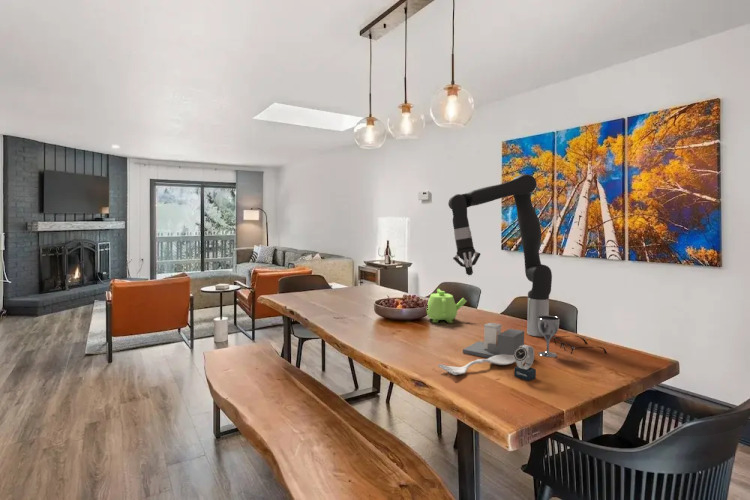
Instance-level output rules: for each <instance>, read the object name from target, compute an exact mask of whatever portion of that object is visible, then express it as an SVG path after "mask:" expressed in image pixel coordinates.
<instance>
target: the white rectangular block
mask: <svg viewBox="0 0 750 500" xmlns="http://www.w3.org/2000/svg"><path fill="white" fill-rule="evenodd" d="M502 326H503V325H502V324H501V323H495V322H487V323H485V324H484V325H483V327H484V329H483V333H484V335H483V340H484V341H483V342H484V349H488V344H489V343H490V344H495V345H498V334H500V333H502Z"/></svg>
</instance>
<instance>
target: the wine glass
mask: <svg viewBox="0 0 750 500" xmlns="http://www.w3.org/2000/svg"><path fill="white" fill-rule="evenodd" d="M538 327H539V331H540V332H541V334H542V335H543V337H544V339H545V343H546V350H545V351H539V352H538V353H537V354H538V355H539V356H541V357H543V358H557V357H558V354H557V353H556V352H552V351H550V341H551V340H552V338H553V337H555V335H556V334H557V333H558V331H559V327H560V317H559V316H554V315H549V316H548V315H542V316H538Z"/></svg>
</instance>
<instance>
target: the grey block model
mask: <svg viewBox="0 0 750 500" xmlns="http://www.w3.org/2000/svg"><path fill="white" fill-rule="evenodd" d="M522 345H525V330H521V329H517V328H507V329H505V330H504V331H501V333H500V334H498V345H495V344H490V343H489V344H488V349H484V341H481V340H478V341H476V342H474V343H472V344H471V345H469V346H466V347H465V348H463V349H462V353H463V354H465V355H469V356H470V355H472V356H475V357H481V358H484V359H488V358H490V357H492V356H495V355H500V354H506V355H514V351H515V350H516V349H517V348H519V347H520V346H522Z"/></svg>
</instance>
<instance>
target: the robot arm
mask: <svg viewBox="0 0 750 500" xmlns="http://www.w3.org/2000/svg"><path fill="white" fill-rule="evenodd" d="M536 188H537V180H536V178H535V177H534V176H533V175H531V174H526V173H525V174H519V175H517V176H515V177H514V178H512V180H509V181H506V182H503V183H500V184H495V185H489V186H483V187H481V188H480V187H479V188H477V189H474V190H470V191H468V192H465V193H461V194H460V193H455V194H454V195H453V196H451V197H450V198H449V200H448V207H449V209H450V210H451V211H452V225H453V226H452V227H453V231H454V232H453V233H454V234H453V235H454V240H455V246H456V247H455V248H456V255H455V256H453V257H452V259H453V261H455V263H457V264H458V265H459V266H460V267H463V268H464V269H465V274H466V275H467V276H472V275H473V273H474V270H473V266H475V265H476V264H477V262H478V260H479V258H480V257H481V252H478V251H476V249H475V248H474V242H473V236H472V231H471V228H470V224H469V218H468V217H469V216H468V208H470V207H474V206H475V207H476V206H479V205H483V204H487V203H490V202H493V201H495V200H499V199H502V198H507V197H511V196H513V199H514V202H515V207H516V213H517V221H518V228H519V233H520V234H519V235H520V239H521V240H520V241H521V244H522V251H523V258H524V270H525V271H524V272H525V276H526V279H527V280H528V281H529V282H531V283H532V284H531V286H532V287H531V289H530V290H529V291H528V292H527V319H526V322H527V323H526V324H527V325H526V327H527V328H526V334H527V335H529V336H533V337H541V338H542V337H544V336H543V335H542V334H541V332H540V331H539V327H538V316H542V315H548V316H550V314H549V310H550V309H549V308H550V307H549V306H550V295H551V291H552V280H553V274H552V273H553V272H552V269H551V268H550V267H549V266H548V265H545V264H543V263H541V259H540V258H541V257H540V247H541V243H542V236H543V235H542V227H541V223H540V219H539V217H538V214H537V211H536V210H535V208H534V206H533V203H532V202H533V201H532V196H531V193H533V191H535V189H536ZM473 257H474V258H473ZM460 259H461V260H462V261H461V260H460Z"/></svg>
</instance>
